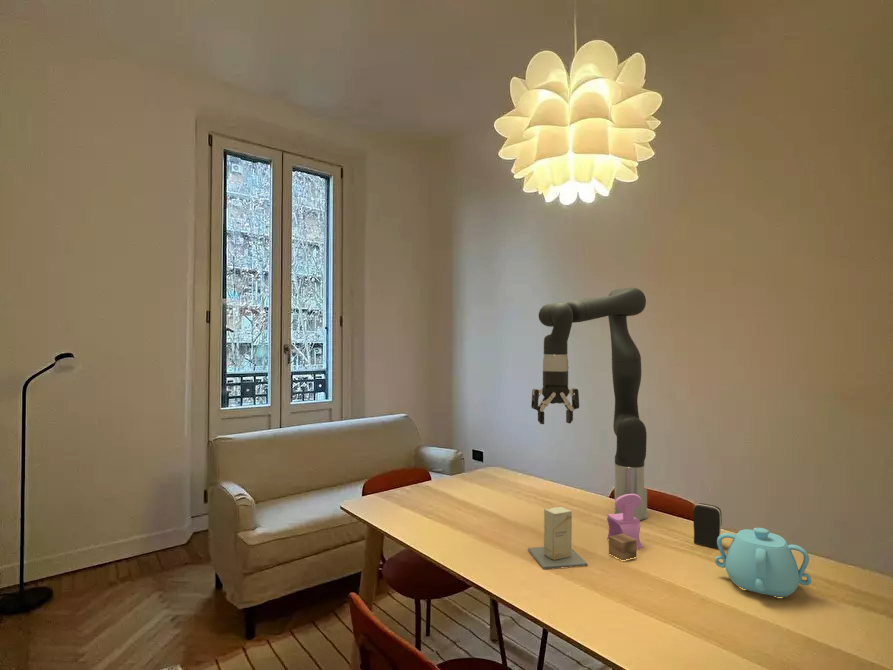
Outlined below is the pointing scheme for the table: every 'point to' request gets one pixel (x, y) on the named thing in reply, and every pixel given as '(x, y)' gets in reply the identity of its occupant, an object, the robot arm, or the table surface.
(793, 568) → the decorative pot
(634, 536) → the toy chair
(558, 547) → the skincare box
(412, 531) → the table surface
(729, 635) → the table surface
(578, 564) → the coaster
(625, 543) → the walnut block
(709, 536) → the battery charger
